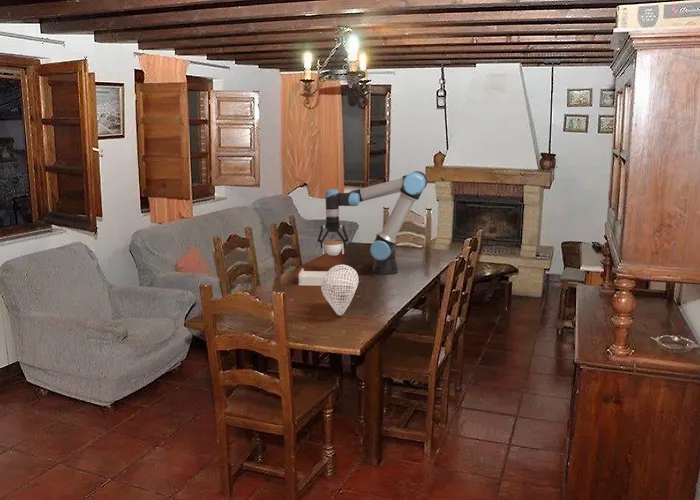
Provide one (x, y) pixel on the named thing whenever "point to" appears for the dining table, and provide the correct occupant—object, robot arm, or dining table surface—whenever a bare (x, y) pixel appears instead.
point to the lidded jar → (333, 246)
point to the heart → (327, 283)
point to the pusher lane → (317, 278)
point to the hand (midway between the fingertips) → (333, 253)
